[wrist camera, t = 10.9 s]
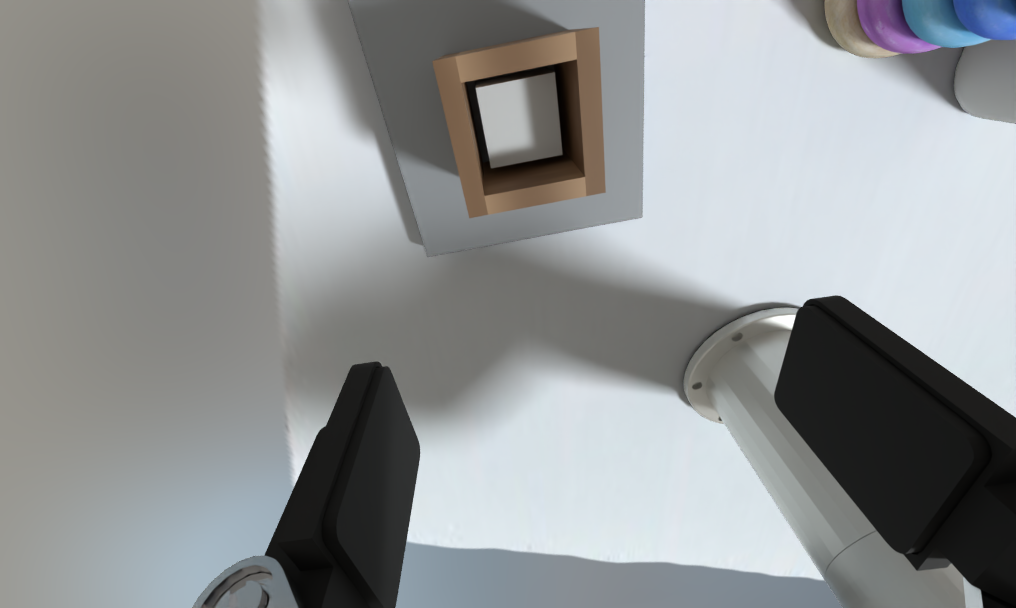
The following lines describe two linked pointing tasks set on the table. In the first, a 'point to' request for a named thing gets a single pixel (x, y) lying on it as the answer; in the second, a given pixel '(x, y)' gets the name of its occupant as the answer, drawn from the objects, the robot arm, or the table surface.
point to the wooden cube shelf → (577, 116)
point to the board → (427, 126)
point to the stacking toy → (917, 24)
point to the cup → (988, 80)
